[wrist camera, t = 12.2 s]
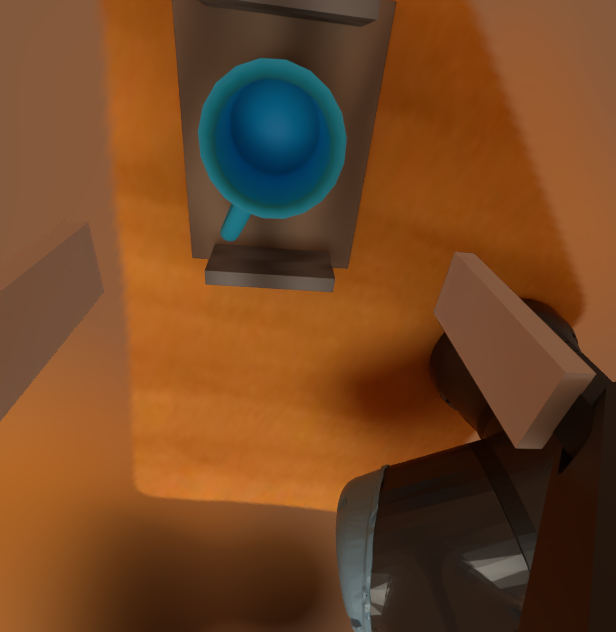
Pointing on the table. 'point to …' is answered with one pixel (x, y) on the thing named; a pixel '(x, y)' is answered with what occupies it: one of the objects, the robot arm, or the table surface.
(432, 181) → the table surface
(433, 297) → the table surface
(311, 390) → the table surface
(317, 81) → the mug
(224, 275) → the holder
